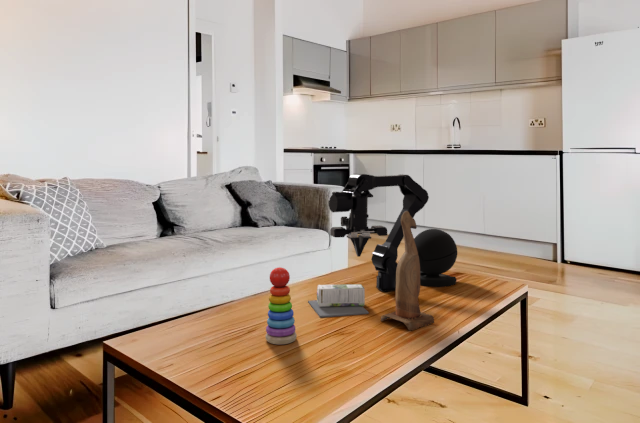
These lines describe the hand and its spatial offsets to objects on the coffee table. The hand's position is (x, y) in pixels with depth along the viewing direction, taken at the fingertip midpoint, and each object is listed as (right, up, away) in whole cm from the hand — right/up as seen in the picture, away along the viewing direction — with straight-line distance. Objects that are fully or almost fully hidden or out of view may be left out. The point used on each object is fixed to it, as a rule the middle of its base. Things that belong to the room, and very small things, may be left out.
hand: (358, 256), depth 168 cm
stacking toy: (-23, -18, -42) cm, 51 cm away
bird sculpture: (+12, -16, -29) cm, 35 cm away
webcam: (+30, -11, +19) cm, 37 cm away
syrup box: (+1, -11, -13) cm, 17 cm away
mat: (-8, -15, -15) cm, 22 cm away
